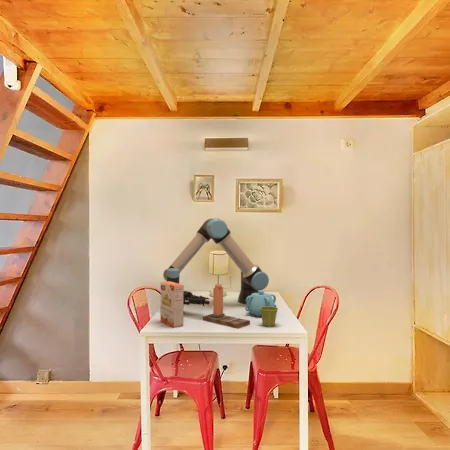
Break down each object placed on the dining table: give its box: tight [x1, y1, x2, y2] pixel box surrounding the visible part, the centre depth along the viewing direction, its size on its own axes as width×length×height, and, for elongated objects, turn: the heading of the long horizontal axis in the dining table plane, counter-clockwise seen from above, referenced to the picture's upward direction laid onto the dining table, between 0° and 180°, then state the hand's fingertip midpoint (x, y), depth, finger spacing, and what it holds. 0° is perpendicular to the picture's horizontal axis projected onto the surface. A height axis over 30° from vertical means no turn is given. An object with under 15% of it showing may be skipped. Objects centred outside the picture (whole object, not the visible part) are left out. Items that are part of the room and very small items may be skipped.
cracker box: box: [160, 281, 184, 328], centre depth 193 cm, size 14×6×21 cm, turn 38°
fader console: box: [202, 313, 251, 329], centre depth 198 cm, size 24×10×2 cm, turn 50°
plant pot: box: [260, 306, 279, 327], centre depth 193 cm, size 9×9×9 cm
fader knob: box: [211, 283, 226, 317], centre depth 201 cm, size 4×6×16 cm, turn 140°
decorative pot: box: [244, 290, 277, 318], centre depth 216 cm, size 16×16×14 cm
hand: (214, 303), depth 202 cm, fingers closed
